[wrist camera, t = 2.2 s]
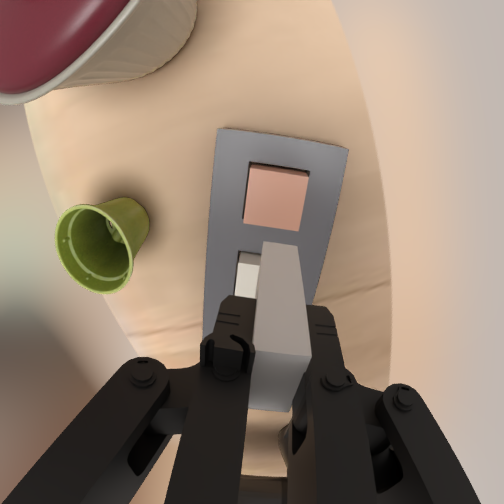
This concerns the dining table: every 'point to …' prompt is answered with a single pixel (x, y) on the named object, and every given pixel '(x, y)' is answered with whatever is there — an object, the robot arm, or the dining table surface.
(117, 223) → the plant pot
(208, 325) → the keypad
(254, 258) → the cream key
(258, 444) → the dining table surface
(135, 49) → the canister
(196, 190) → the dining table surface
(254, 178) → the terracotta key
